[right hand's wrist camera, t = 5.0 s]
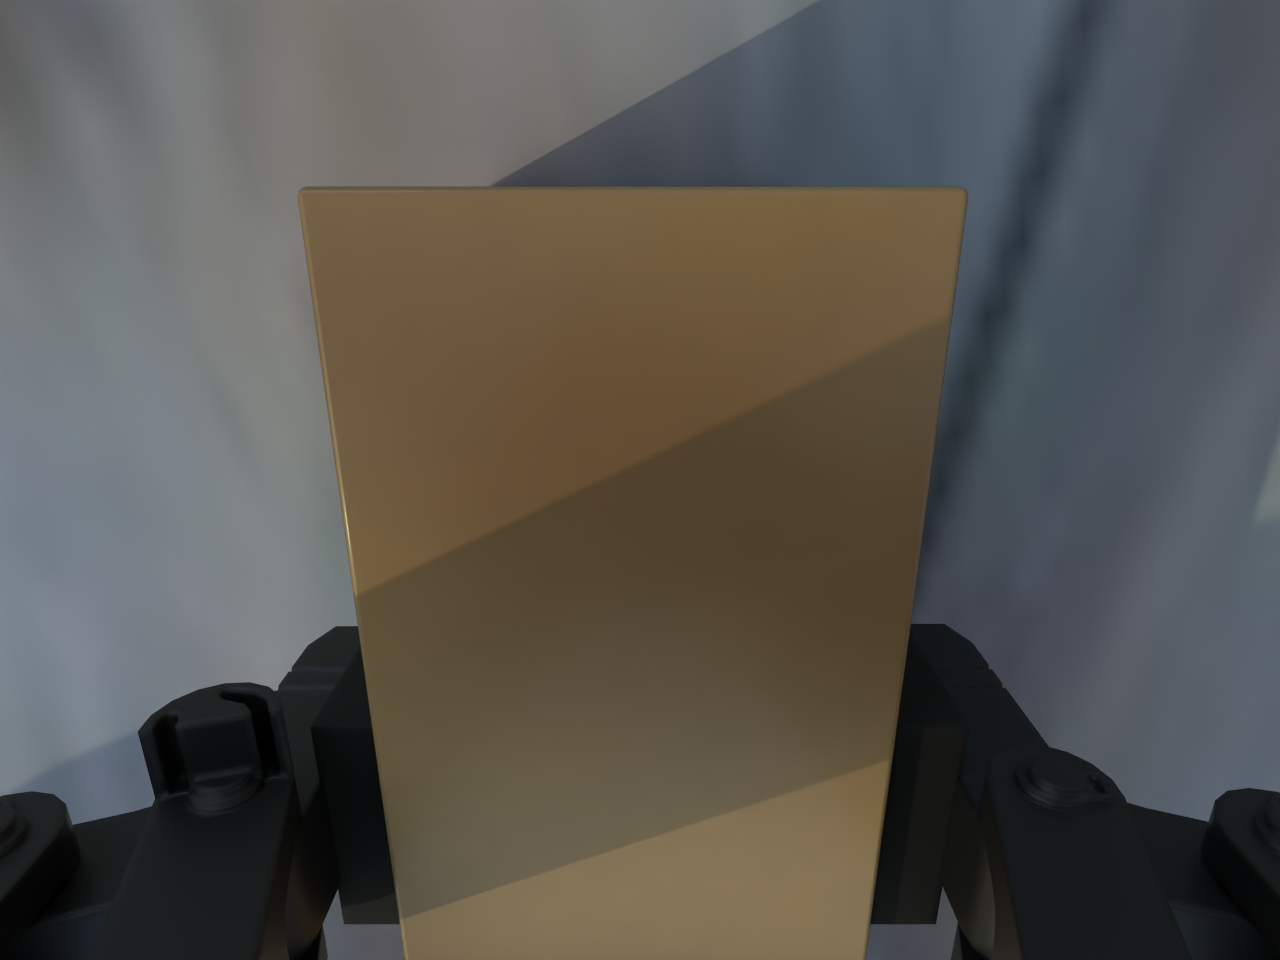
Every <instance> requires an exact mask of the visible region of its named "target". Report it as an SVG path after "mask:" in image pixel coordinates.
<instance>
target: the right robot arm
mask: <svg viewBox="0 0 1280 960" xmlns="http://www.w3.org/2000/svg"><path fill="white" fill-rule="evenodd" d="M988 666H989V665H988V663H987V662H986V661H985V659H984V658H983V657H982V655H981V654H980V653H979V651H978V650H977V649H976V647H975V646H974V644H973V643H972V642H970V641H969V640H967V639H966V638H964V637H963V636H961V635H960V634H958V633H957V632H956V631H954V630H953V629H951V628H950V627H948V626H947V625H945V624H911V625H910V633H909V640H908V647H907V655H906V662H905V670H904V677H903V684H902V692H901V699H900V707H899V714H898V722H897V729H896V736H895V744H894V751H893V759H892V766H891V774H890V781H889V788H888V796H887V803H886V811H885V818H884V826H883V833H882V840H881V848H880V855H879V863H878V870H877V877H876V885H875V892H874V900H873V907H872V915H871V922H870V924H936V920H937V914H938V908H939V903H940V897H941V891H942V886H943V888H944V890H945V893H946V895H947V897H948V899H949V902H950V904H951V906H952V909H953V911H954V913H955V916H956V918H957V920H958V924H957V930H956V935H955V941H954V946H953V951H952V957H951V960H1280V793H1279V792H1274V791H1267V790H1259V789H1252V788H1246V789H1238V790H1231V791H1227V792H1225V793H1224V794H1223V795H1222V796H1220V797H1219V798H1218V799H1217V800H1215V803H1214V806H1213V810H1212V813H1211V816H1210V819H1209V822H1207V821H1202V820H1198V819H1193V818H1188V817H1184V816H1179V815H1175V814H1170V813H1166V812H1161V811H1157V810H1152V809H1147V808H1144V807H1140V806H1137V805H1133V804H1130V803H1127V802H1126V799H1125V797H1124V796H1123V794H1122V793H1121V791H1120V790H1119V789H1118V787H1117V786H1116V784H1115V783H1114V781H1113V780H1112V779H1111V778H1109V777H1108V776H1107V775H1106V774H1104V773H1103V772H1102V771H1100V770H1099V769H1098V768H1097V767H1095V766H1094V765H1093V764H1091V763H1089V762H1087V761H1085V760H1083V759H1081V758H1079V757H1077V756H1075V755H1072V754H1070V753H1068V752H1065V751H1061V750H1058V749H1054V748H1050V747H1049V746H1048V745H1047V744H1046V742H1045V741H1044V740H1043V738H1042V737H1041V735H1040V734H1039V733H1038V731H1037V730H1036V729H1035V727H1034V726H1033V725H1032V723H1031V722H1030V721H1029V719H1028V718H1027V716H1026V715H1025V714H1024V712H1023V711H1022V710H1021V708H1020V707H1019V706H1018V704H1017V703H1016V701H1015V700H1014V699H1013V697H1012V696H1011V695H1010V693H1009V692H1008V691H1007V689H1006V688H1002V682H1001V681H1000V680H999V678H998V677H997V676H996V674H995V673H994V672H993V670H992V669H989V667H988ZM138 734H139V738H140V742H141V746H142V750H143V753H144V757H145V761H146V765H147V768H148V772H149V776H150V780H151V784H152V787H153V791H154V795H155V801H154V803H153V805H152V807H148V808H145V809H141V810H138V811H134V812H130V813H125V814H121V815H116V816H112V817H107V818H103V819H98V820H94V821H89V822H84V823H80V824H75V825H72V822H71V819H70V816H69V813H68V809H67V806H66V804H65V803H64V802H63V801H61V800H60V799H59V798H58V797H56V796H55V795H54V794H47V793H40V792H33V791H32V792H25V793H18V794H11V795H4V796H1V797H0V960H327V957H328V955H327V948H326V941H325V935H324V930H323V922H324V920H325V917H326V915H327V913H328V910H329V908H330V906H331V903H332V901H333V899H334V897H335V894H336V892H337V890H338V891H339V897H340V903H341V908H342V914H343V920H344V924H400V921H399V914H398V907H397V900H396V893H395V886H394V879H393V872H392V864H391V857H390V850H389V843H388V836H387V829H386V822H385V815H384V808H383V800H382V793H381V786H380V779H379V772H378V765H377V758H376V751H375V743H374V736H373V729H372V722H371V715H370V708H369V701H368V694H367V687H366V679H365V672H364V665H363V658H362V651H361V644H360V637H359V630H358V626H336V627H334V628H333V629H331V630H330V631H329V632H327V633H326V634H324V635H323V636H321V637H320V638H318V639H317V640H315V641H314V642H312V643H311V644H309V645H308V646H307V648H306V649H305V650H304V652H303V653H302V654H301V656H300V657H299V659H298V660H297V661H296V663H295V664H294V665H293V667H292V672H288V674H287V675H286V676H285V678H284V679H283V680H282V682H281V683H280V685H279V688H278V691H273V690H272V689H271V688H270V687H267V686H263V685H259V684H254V683H250V682H248V683H225V684H221V685H216V686H212V687H208V688H204V689H199V690H197V691H194V692H192V693H189V694H187V695H185V696H182V697H180V698H178V699H175V700H173V701H171V702H170V703H168V704H167V705H165V706H164V707H163V708H161V709H160V710H158V711H157V712H155V713H154V714H152V715H151V716H150V717H149V718H148V720H147V721H146V722H145V723H144V725H143V726H142V727H141V728H140V729H139V731H138Z"/></svg>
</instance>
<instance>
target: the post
mask: <svg viewBox="0 0 1280 960" xmlns="http://www.w3.org/2000/svg"><path fill="white" fill-rule="evenodd" d="M967 202H968V194H967V190H966V189H964V188H961V187H304V188H302V189H300V190H299V193H298V203H299V210H300V217H301V224H302V231H303V238H304V245H305V252H306V260H307V267H308V274H309V281H310V288H311V295H312V302H313V309H314V316H315V324H316V331H317V338H318V345H319V352H320V359H321V366H322V373H323V381H324V388H325V395H326V402H327V409H328V416H329V423H330V430H331V437H332V445H333V452H334V459H335V466H336V473H337V480H338V487H339V494H340V501H341V509H342V516H343V523H344V530H345V537H346V544H347V551H348V558H349V566H350V573H351V580H352V587H353V594H354V601H355V608H356V615H357V622H358V630H359V637H360V644H361V651H362V658H363V665H364V672H365V679H366V687H367V694H368V701H369V708H370V715H371V722H372V729H373V736H374V743H375V751H376V758H377V765H378V772H379V779H380V786H381V793H382V800H383V808H384V815H385V822H386V829H387V836H388V843H389V850H390V857H391V864H392V872H393V879H394V886H395V893H396V900H397V907H398V914H399V921H400V929H401V936H402V943H403V950H404V957H405V960H865V959H866V952H867V944H868V937H869V929H870V922H871V915H872V907H873V900H874V892H875V885H876V877H877V870H878V863H879V855H880V848H881V840H882V833H883V826H884V818H885V811H886V803H887V796H888V788H889V781H890V774H891V766H892V759H893V751H894V744H895V736H896V729H897V722H898V714H899V707H900V699H901V692H902V684H903V677H904V670H905V662H906V655H907V647H908V640H909V633H910V625H911V618H912V610H913V603H914V595H915V588H916V581H917V573H918V566H919V558H920V551H921V543H922V536H923V529H924V521H925V514H926V506H927V499H928V491H929V484H930V477H931V469H932V462H933V454H934V447H935V440H936V432H937V425H938V417H939V410H940V402H941V395H942V388H943V380H944V373H945V365H946V358H947V350H948V343H949V336H950V328H951V321H952V313H953V306H954V298H955V291H956V284H957V276H958V269H959V261H960V254H961V247H962V239H963V232H964V224H965V217H966V209H967Z"/></svg>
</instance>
